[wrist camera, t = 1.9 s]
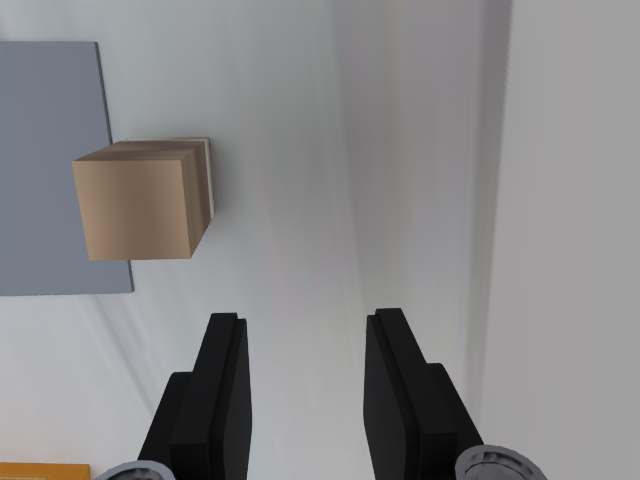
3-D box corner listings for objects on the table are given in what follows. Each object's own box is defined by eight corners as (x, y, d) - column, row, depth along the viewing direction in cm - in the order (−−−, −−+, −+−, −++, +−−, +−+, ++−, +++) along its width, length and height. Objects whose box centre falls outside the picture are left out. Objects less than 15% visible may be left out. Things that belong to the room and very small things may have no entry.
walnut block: (208, 137, 29) (180, 160, 22) (214, 213, 31) (190, 258, 24) (127, 138, 29) (71, 161, 22) (138, 214, 31) (89, 260, 23)
